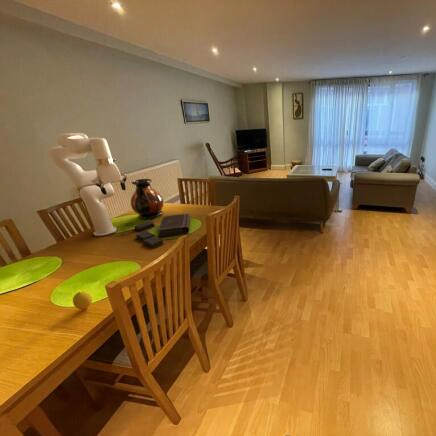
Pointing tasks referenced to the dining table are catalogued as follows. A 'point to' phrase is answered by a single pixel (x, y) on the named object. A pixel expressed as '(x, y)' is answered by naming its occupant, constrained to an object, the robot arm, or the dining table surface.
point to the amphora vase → (146, 200)
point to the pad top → (144, 226)
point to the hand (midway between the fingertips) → (114, 192)
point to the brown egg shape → (82, 300)
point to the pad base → (153, 242)
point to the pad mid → (144, 235)
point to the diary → (174, 225)
